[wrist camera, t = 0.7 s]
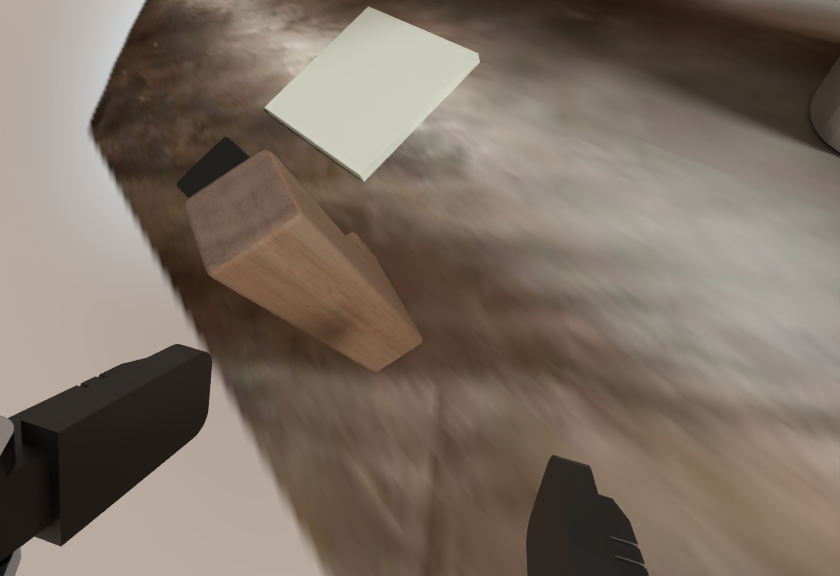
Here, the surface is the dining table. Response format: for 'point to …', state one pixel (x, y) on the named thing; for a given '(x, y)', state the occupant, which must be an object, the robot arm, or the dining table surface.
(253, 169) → the wooden block
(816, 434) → the dining table surface
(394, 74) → the board
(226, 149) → the smartphone
